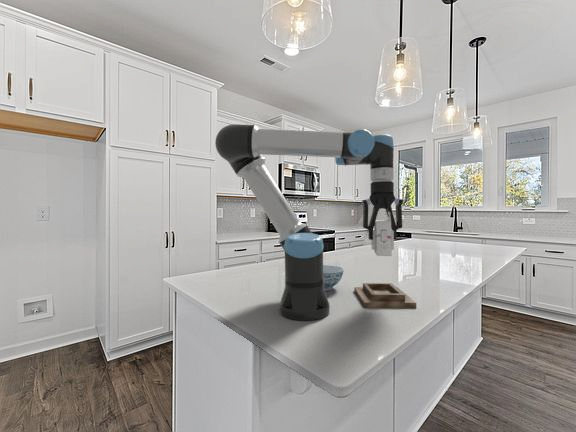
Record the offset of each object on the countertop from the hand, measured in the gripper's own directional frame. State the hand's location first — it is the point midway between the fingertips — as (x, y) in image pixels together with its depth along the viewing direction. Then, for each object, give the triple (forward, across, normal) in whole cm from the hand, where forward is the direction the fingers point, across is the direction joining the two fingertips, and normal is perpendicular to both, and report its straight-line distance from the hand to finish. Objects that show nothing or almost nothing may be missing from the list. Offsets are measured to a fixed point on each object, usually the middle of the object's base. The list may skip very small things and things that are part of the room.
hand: (382, 249), depth 99 cm
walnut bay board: (+17, 0, 0) cm, 17 cm away
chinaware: (+17, -19, +13) cm, 29 cm away
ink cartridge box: (+2, 0, 0) cm, 2 cm away
